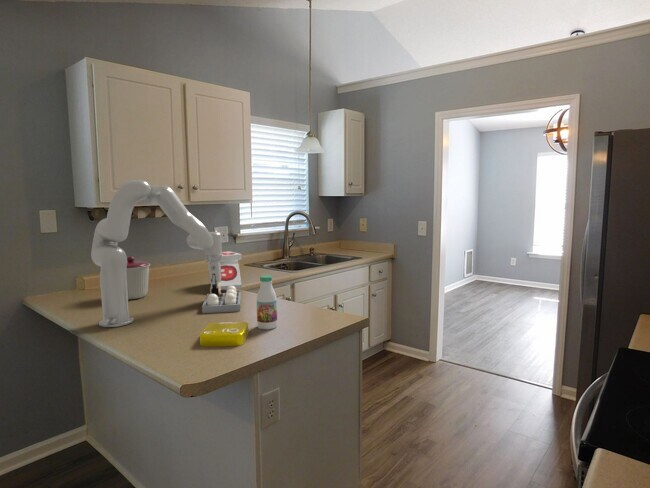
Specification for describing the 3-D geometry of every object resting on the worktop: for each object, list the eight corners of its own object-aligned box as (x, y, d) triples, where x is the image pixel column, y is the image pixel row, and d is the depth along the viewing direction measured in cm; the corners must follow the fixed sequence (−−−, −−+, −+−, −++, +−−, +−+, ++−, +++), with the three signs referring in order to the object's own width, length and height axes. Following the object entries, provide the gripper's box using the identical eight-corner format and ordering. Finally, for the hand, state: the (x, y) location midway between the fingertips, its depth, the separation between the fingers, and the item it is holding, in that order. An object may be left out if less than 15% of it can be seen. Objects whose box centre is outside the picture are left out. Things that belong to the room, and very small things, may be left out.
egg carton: (240, 311, 187) (239, 294, 186) (202, 313, 184) (201, 296, 183) (241, 298, 210) (240, 283, 209) (207, 299, 207) (206, 285, 206)
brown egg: (220, 297, 202) (219, 284, 201) (210, 297, 201) (209, 284, 200) (221, 294, 206) (220, 281, 205) (211, 295, 205) (210, 282, 205)
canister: (159, 294, 221) (157, 254, 218) (135, 302, 203) (132, 259, 201) (130, 292, 225) (128, 253, 223) (104, 300, 208) (101, 258, 206)
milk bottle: (255, 325, 166) (254, 275, 164) (274, 322, 169) (273, 273, 167) (259, 331, 159) (258, 279, 157) (279, 328, 162) (278, 277, 159)
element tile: (249, 332, 159) (248, 320, 158) (242, 346, 144) (242, 333, 144) (209, 333, 159) (208, 321, 158) (198, 347, 144) (198, 334, 143)
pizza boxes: (209, 294, 219) (207, 260, 217) (206, 283, 247) (205, 252, 245) (246, 291, 224) (245, 258, 222) (240, 280, 253) (239, 250, 251)
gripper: (220, 260, 194) (222, 299, 196) (223, 255, 210) (224, 291, 212) (204, 261, 192) (205, 300, 194) (207, 255, 209) (209, 291, 211)
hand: (215, 295), depth 203 cm, fingers closed on brown egg, 4 cm apart
